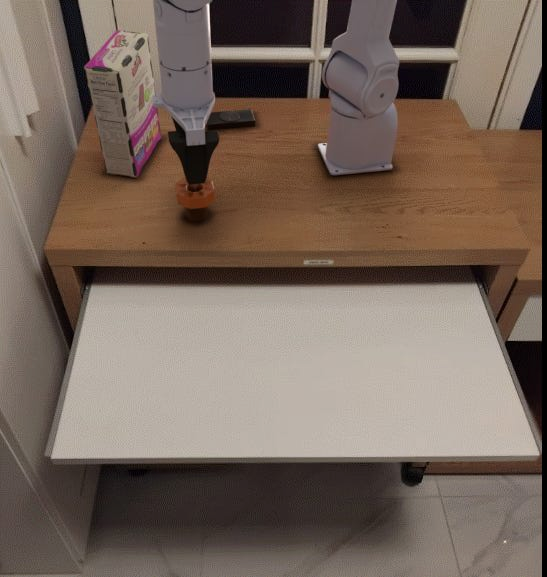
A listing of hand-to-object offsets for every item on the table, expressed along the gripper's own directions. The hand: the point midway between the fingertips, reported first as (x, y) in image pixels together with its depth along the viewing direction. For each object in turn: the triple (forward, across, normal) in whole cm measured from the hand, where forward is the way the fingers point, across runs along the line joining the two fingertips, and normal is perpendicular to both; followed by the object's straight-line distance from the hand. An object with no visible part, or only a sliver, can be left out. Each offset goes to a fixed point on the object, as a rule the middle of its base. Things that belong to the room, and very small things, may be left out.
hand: (192, 164), depth 79 cm
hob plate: (+8, -23, +8) cm, 25 cm away
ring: (+5, 0, 0) cm, 5 cm away
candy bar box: (+8, -16, -8) cm, 19 cm away
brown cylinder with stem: (+8, 0, 0) cm, 8 cm away
